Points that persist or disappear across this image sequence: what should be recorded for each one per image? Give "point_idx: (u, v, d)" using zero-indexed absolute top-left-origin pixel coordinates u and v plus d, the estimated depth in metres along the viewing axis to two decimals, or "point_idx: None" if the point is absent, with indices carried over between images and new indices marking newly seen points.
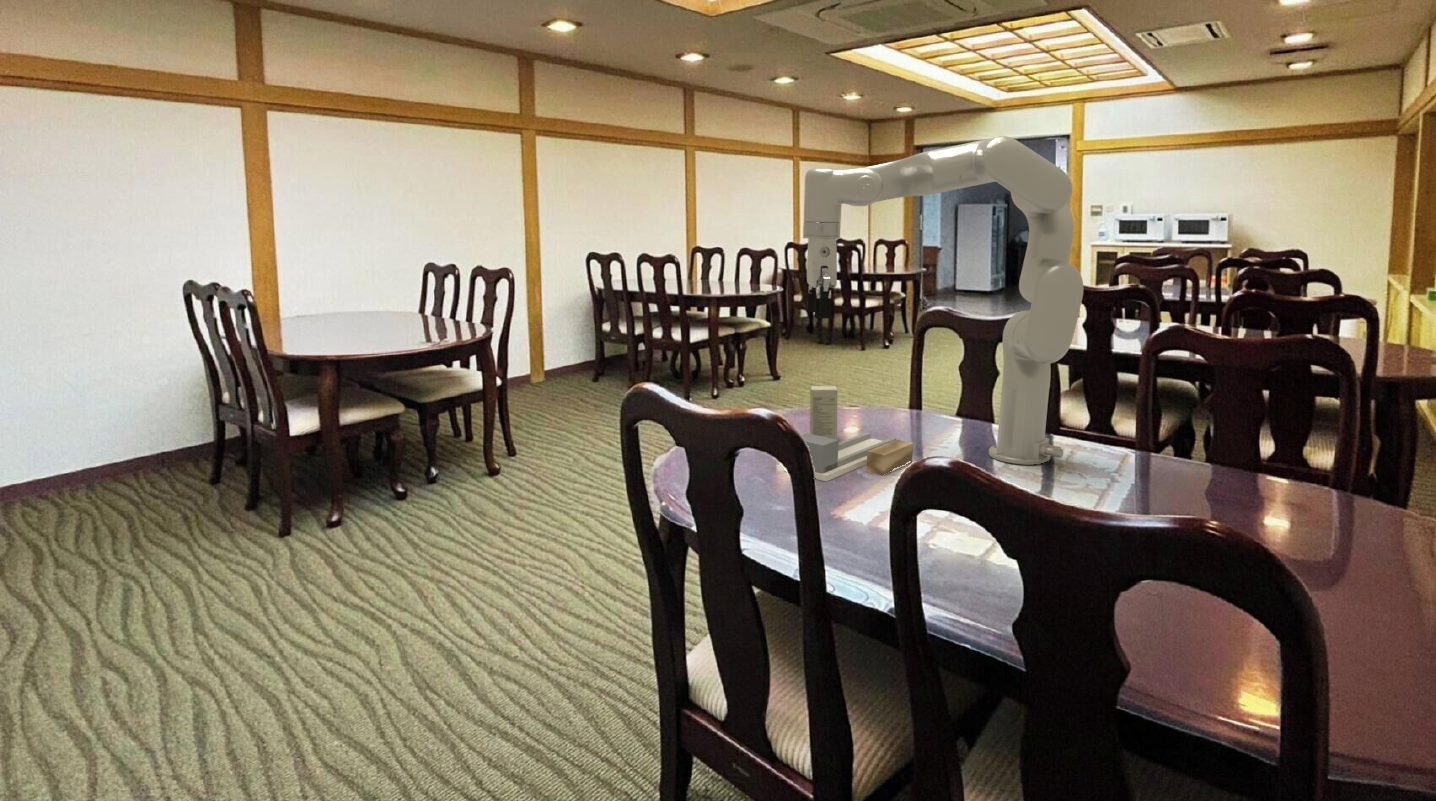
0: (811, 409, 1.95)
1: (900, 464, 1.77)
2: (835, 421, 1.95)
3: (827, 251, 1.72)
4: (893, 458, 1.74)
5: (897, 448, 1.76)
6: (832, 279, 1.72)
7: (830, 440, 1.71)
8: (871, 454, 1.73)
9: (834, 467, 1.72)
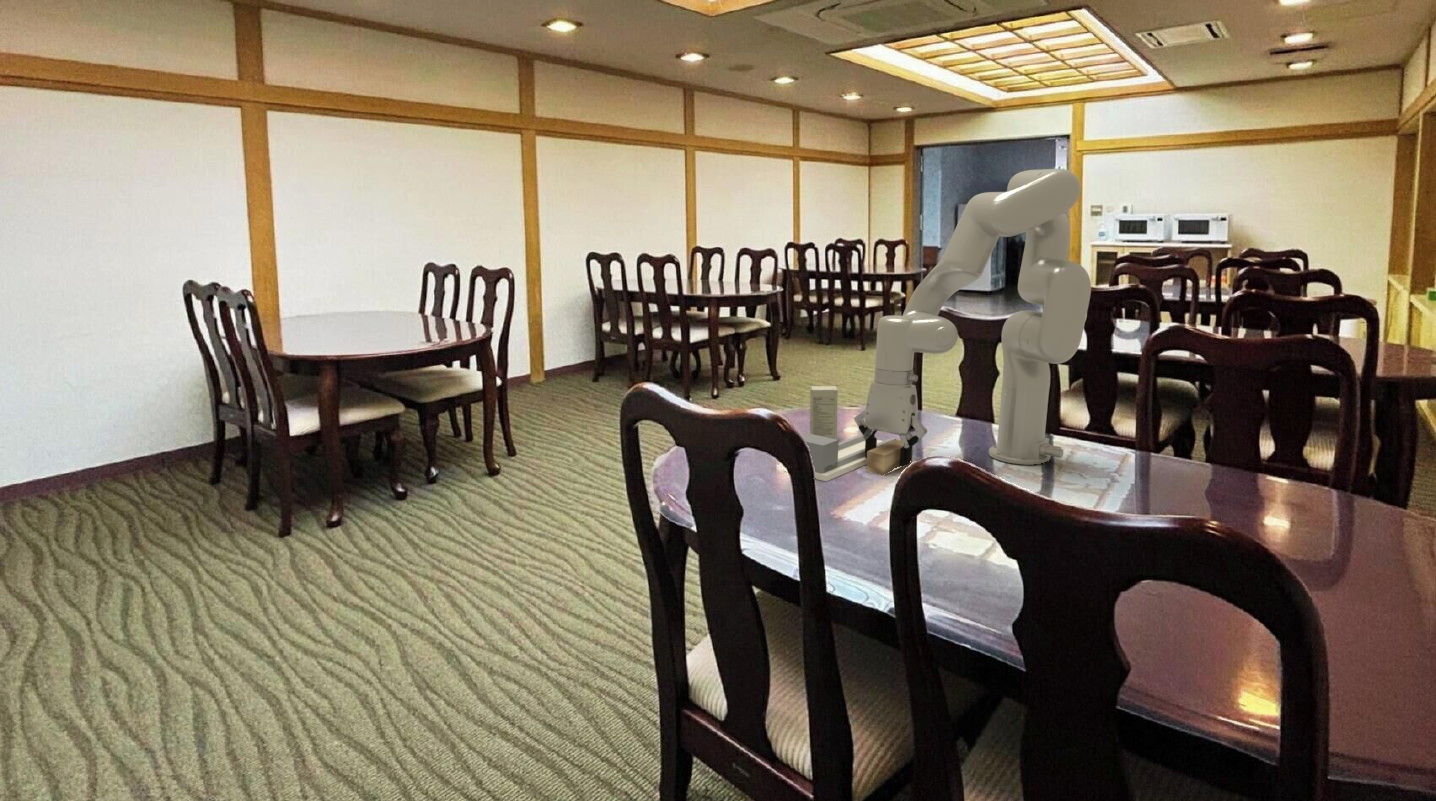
0: (811, 409, 1.95)
1: None
2: (835, 421, 1.95)
3: None
4: (893, 458, 1.74)
5: (897, 447, 1.76)
6: None
7: (830, 440, 1.71)
8: (871, 454, 1.73)
9: (834, 467, 1.72)
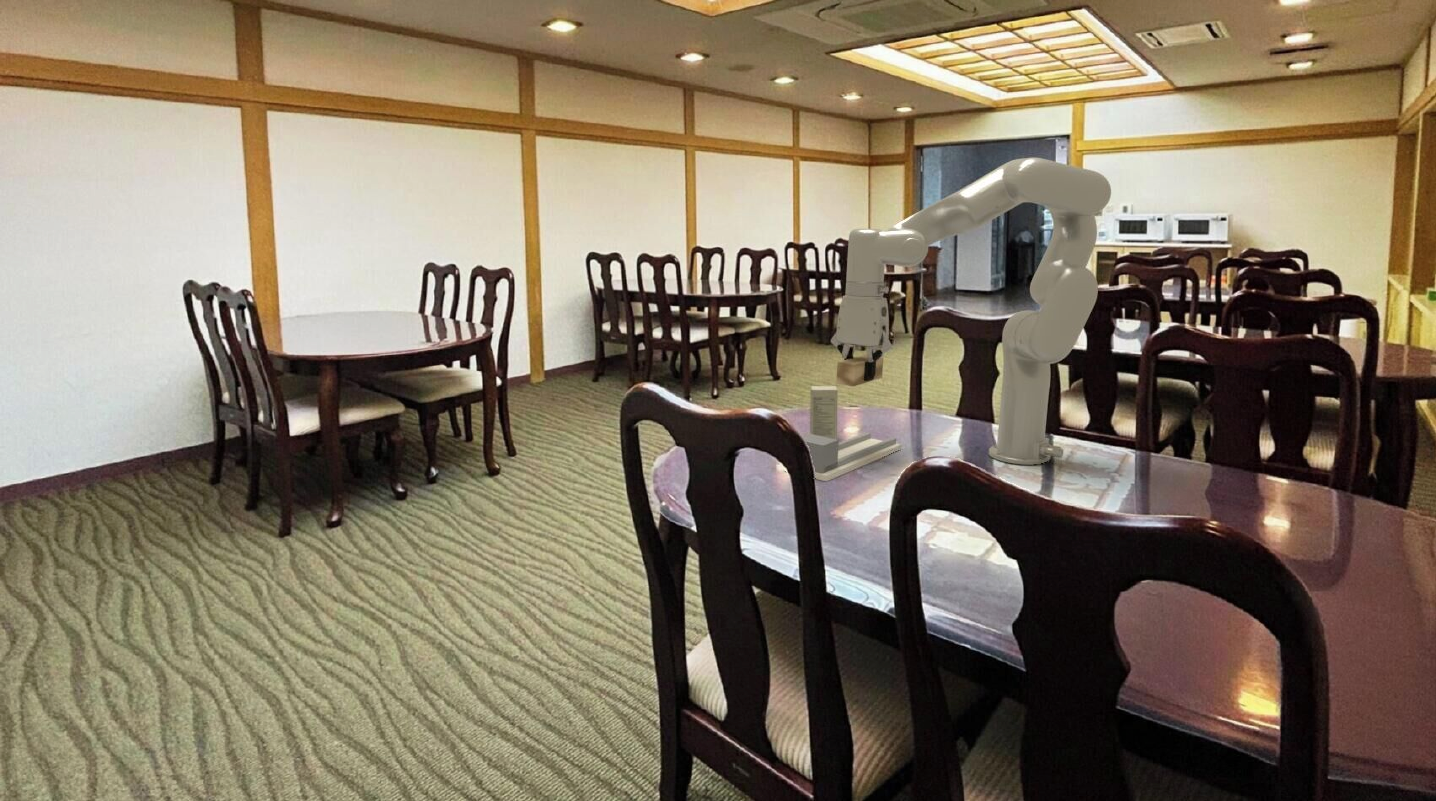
0: (811, 409, 1.95)
1: None
2: (835, 421, 1.95)
3: None
4: (863, 369, 1.75)
5: None
6: None
7: (830, 440, 1.71)
8: (841, 364, 1.74)
9: (834, 467, 1.72)
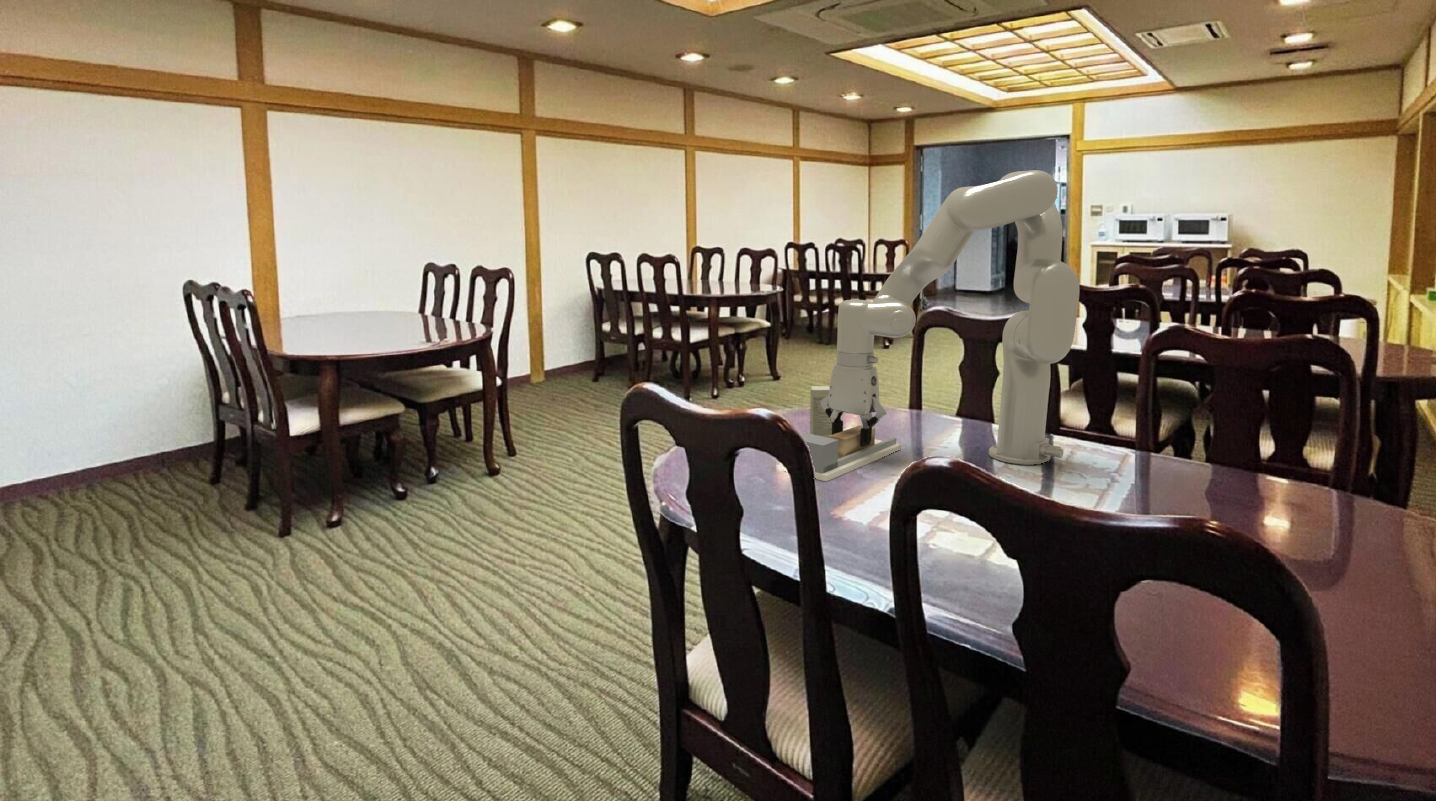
0: (811, 409, 1.95)
1: (862, 448, 1.83)
2: None
3: None
4: (854, 443, 1.80)
5: (858, 432, 1.82)
6: None
7: (830, 440, 1.71)
8: (833, 438, 1.79)
9: (834, 467, 1.72)
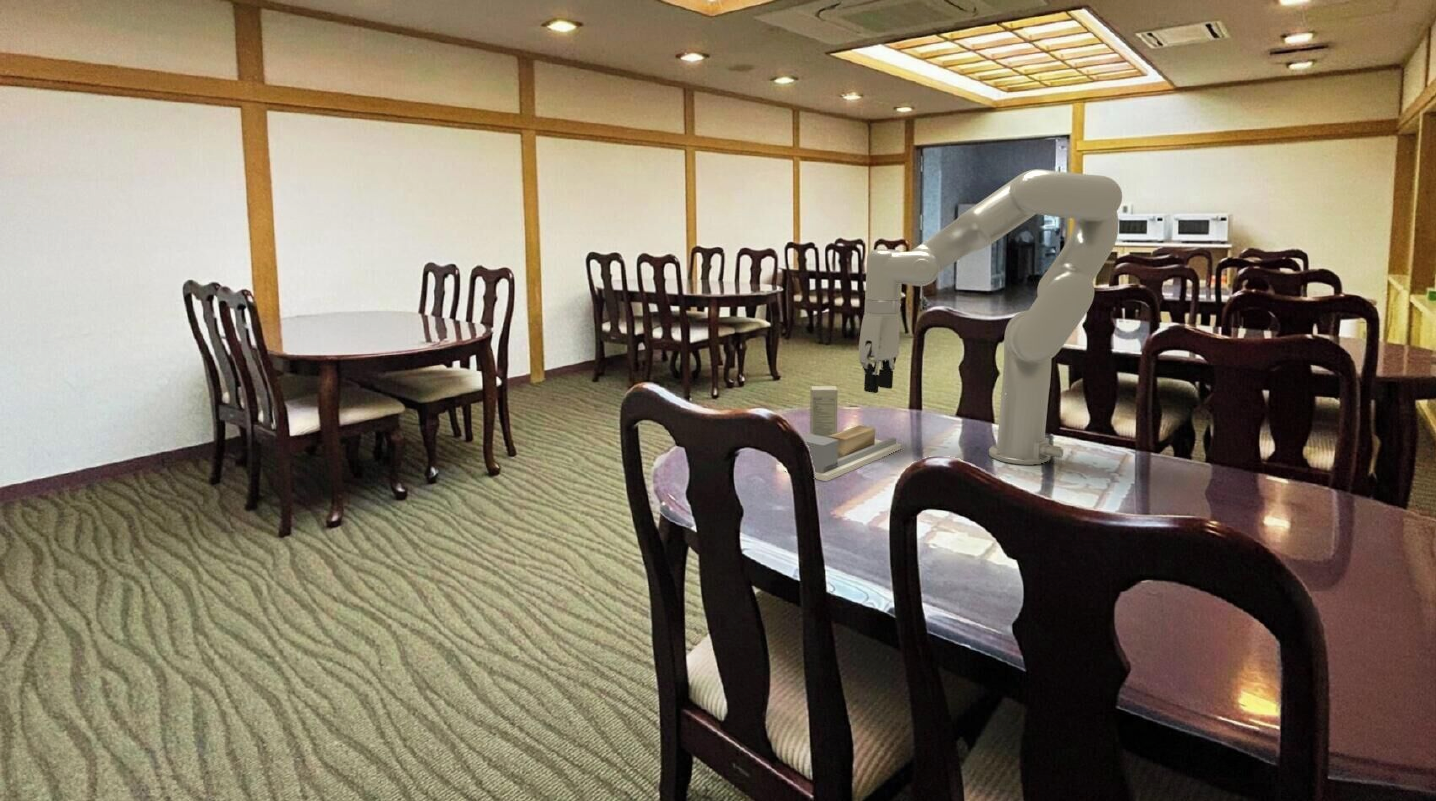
0: (811, 409, 1.95)
1: (862, 448, 1.83)
2: (835, 421, 1.95)
3: None
4: (854, 443, 1.80)
5: (858, 432, 1.82)
6: None
7: (830, 440, 1.71)
8: (833, 438, 1.79)
9: (834, 467, 1.72)
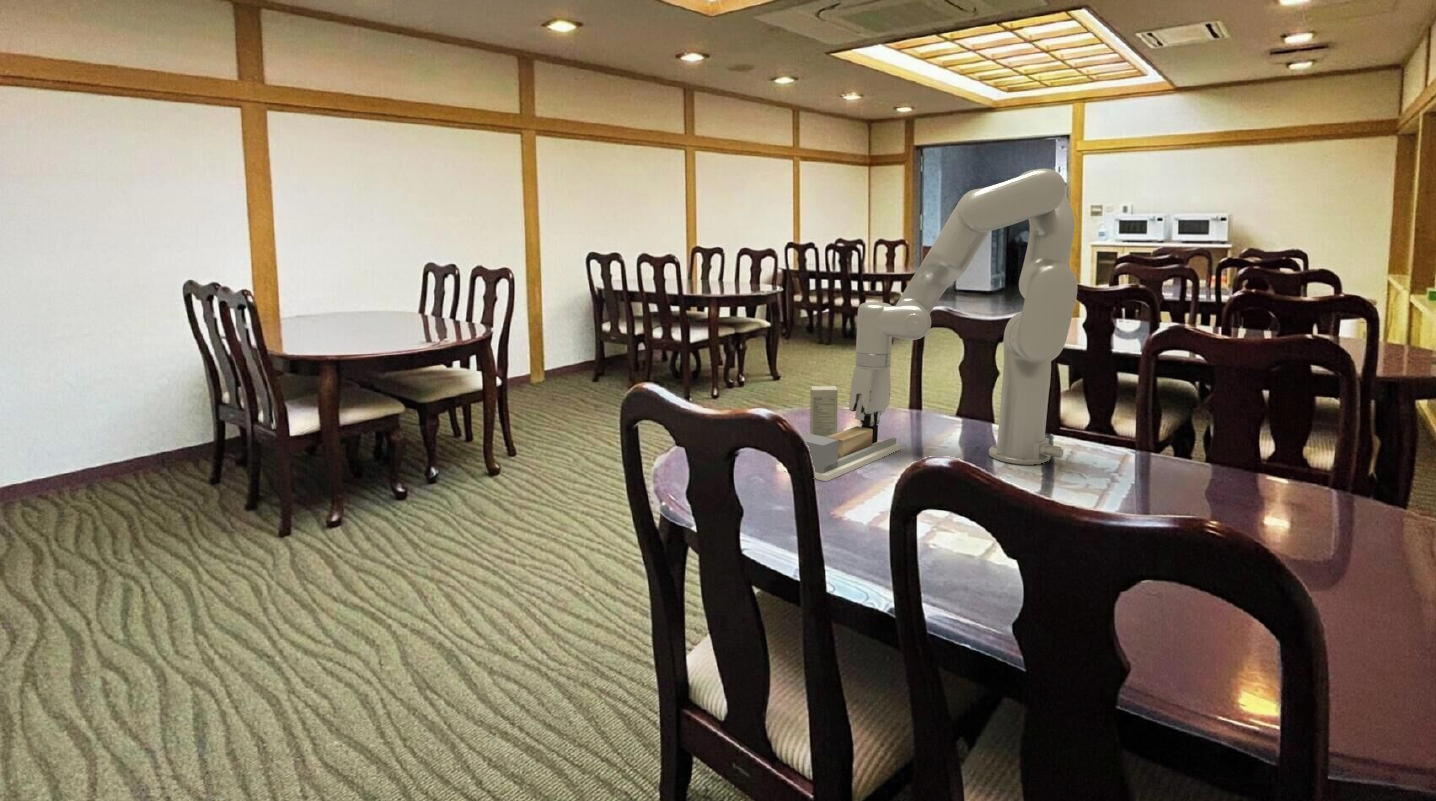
0: (811, 409, 1.95)
1: (859, 449, 1.82)
2: (835, 421, 1.95)
3: None
4: (852, 444, 1.79)
5: (856, 433, 1.81)
6: None
7: (830, 440, 1.71)
8: None
9: (834, 467, 1.72)
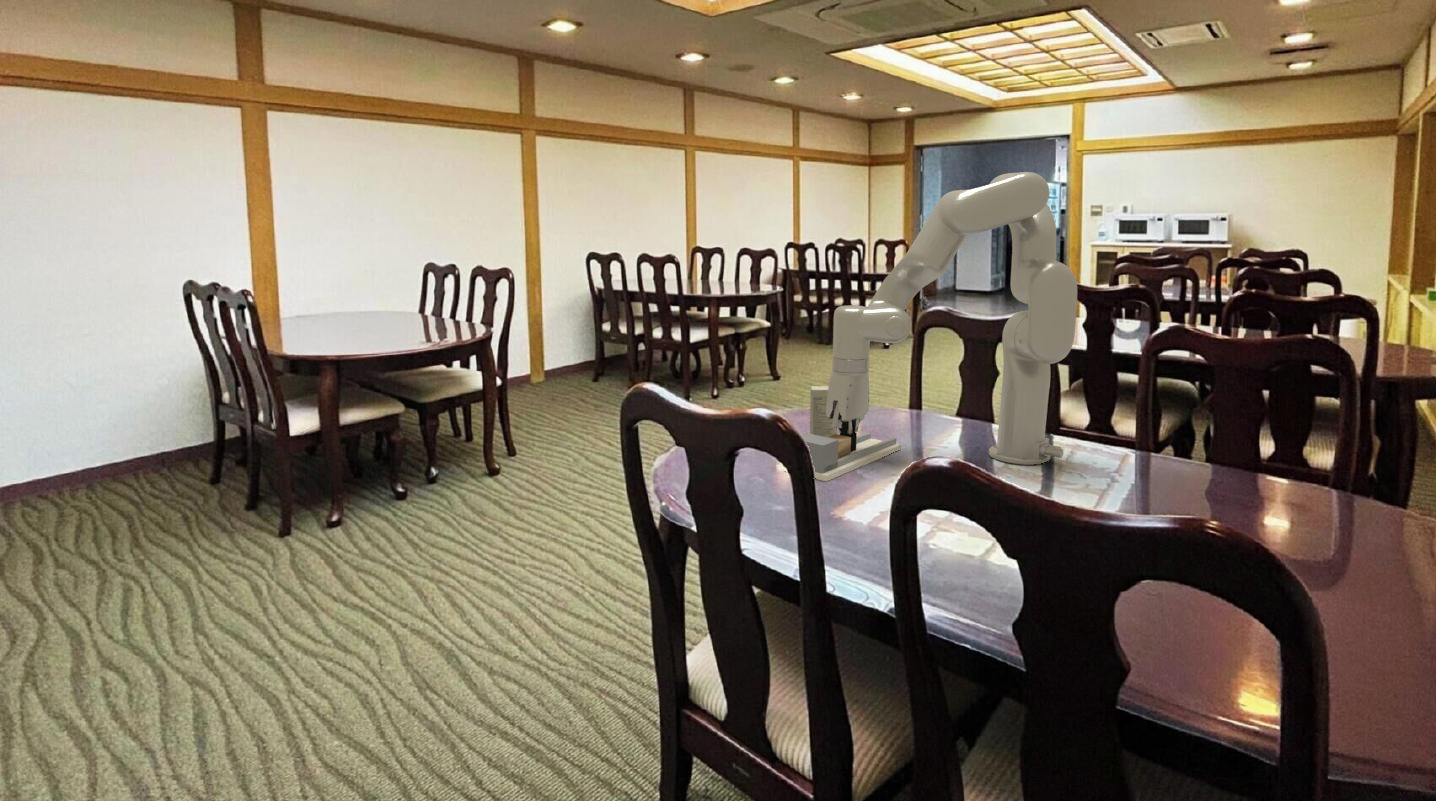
0: (811, 409, 1.95)
1: None
2: None
3: None
4: None
5: None
6: None
7: (830, 440, 1.71)
8: None
9: (834, 467, 1.72)
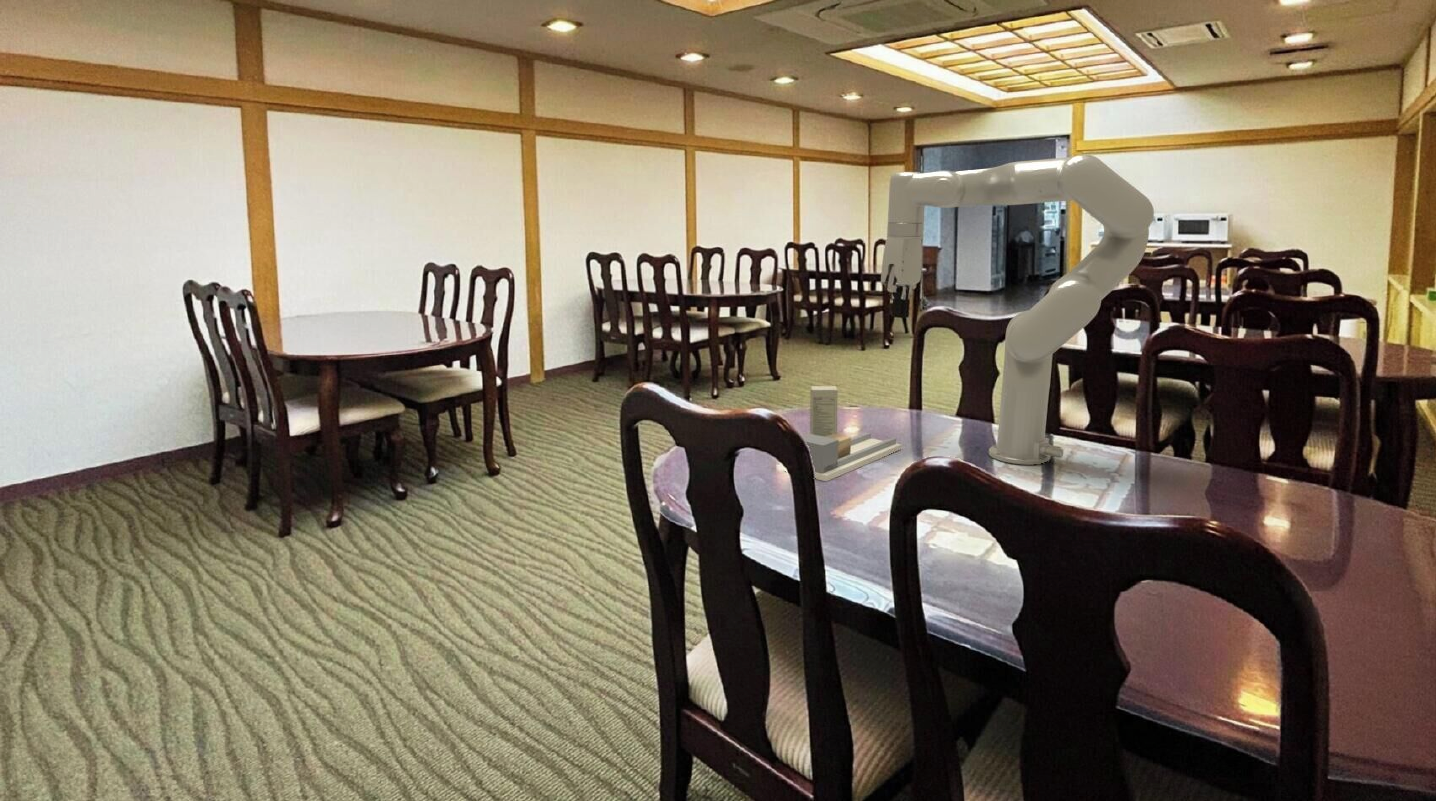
0: (811, 409, 1.95)
1: None
2: (835, 421, 1.95)
3: None
4: None
5: None
6: None
7: (830, 440, 1.71)
8: None
9: (834, 467, 1.72)
